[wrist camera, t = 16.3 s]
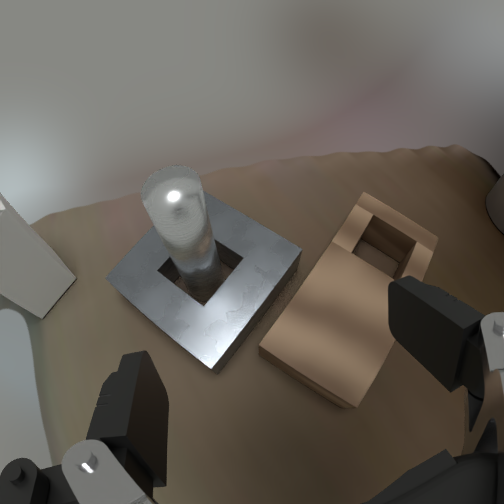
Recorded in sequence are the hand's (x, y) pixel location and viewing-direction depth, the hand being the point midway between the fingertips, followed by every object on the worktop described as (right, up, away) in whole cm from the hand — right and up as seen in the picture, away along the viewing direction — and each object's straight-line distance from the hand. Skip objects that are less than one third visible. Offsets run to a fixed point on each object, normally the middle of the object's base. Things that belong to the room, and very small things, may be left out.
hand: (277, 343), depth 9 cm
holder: (-6, -1, +24) cm, 25 cm away
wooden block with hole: (+10, -3, +23) cm, 25 cm away
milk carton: (-27, -1, +24) cm, 36 cm away
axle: (-6, -1, +24) cm, 25 cm away
